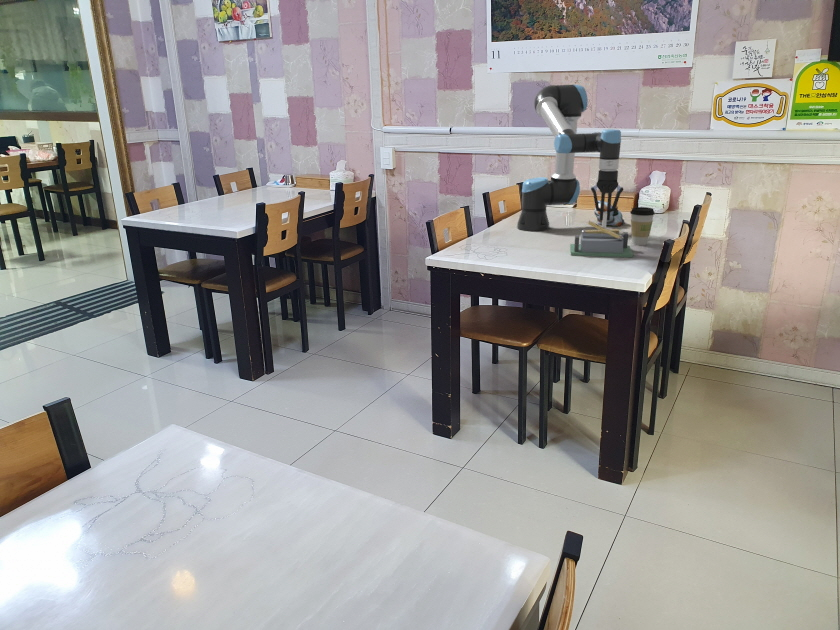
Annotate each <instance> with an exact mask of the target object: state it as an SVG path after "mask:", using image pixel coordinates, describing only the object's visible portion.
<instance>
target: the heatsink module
mask: <svg viewBox="0 0 840 630" xmlns="http://www.w3.org/2000/svg"><path fill="white" fill-rule="evenodd" d="M617 234H618V235H622V237H623V240H622V241H620V240H619V239H618V238H616V237H614V236H612V235H609V234H607V233H604V234H592V233H583V235H582V232H581V233H580V235H575V236H574V243H570V244H569V245H570V246H569V248H570V256H581V257H585V256H586V257H616V258H618V257H619V258H633V257H634V252H633V250H632V249H631V245H628V243H629V242H628V241H629V233H628V232H627V231H625V232H623V234H620V233H617Z"/></svg>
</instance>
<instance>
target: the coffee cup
mask: <svg viewBox="0 0 840 630" xmlns="http://www.w3.org/2000/svg"><path fill="white" fill-rule="evenodd" d="M629 213H630V215H631V219H630V230H631V231H630V233H631V244H632V245H634V246H647V245H648V243H649V242H648V241H649V237H650V235H651V230H652V225H653V220H654V215H655V213H656V212H655V210H654V208H653V207H647V206H646V207H645V206H635V207H633V208H632V209H631V210H630V212H629Z"/></svg>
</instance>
